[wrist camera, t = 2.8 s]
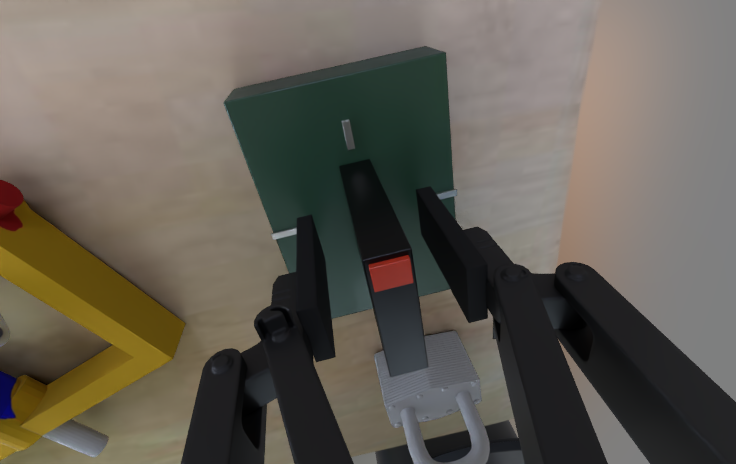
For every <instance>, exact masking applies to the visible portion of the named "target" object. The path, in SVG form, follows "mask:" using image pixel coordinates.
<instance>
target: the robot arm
mask: <svg viewBox="0 0 736 464" xmlns="http://www.w3.org/2000/svg"><path fill="white" fill-rule="evenodd" d="M416 196H417V204H418V213H419V221H420V229H421V235H422V237H423V239H424V241H425V243H426V244H427V246H428V248H429V250H430V252H431V254H432V256H433V257H434V259H435V261H436V263H437V265H438V267H439V269H440V270H441V272H442V274H443V276H444V278H445V280H446V282H447V283H448V285H449V287H450V289H451V291H452V293H453V295H454V296H455V298H456V300H457V302H458V304H459V306H460V308H461V309H462V311H463V313H464V315H465V317H466V319H467V320H468V322H469V323H471V322H475V321H479V320H483V319H487V318H488V309H489V311H490V312H491V314H492V316H493V339H496V340H497V345H498V349H499V353H500V358H501V362H502V367H503V371H504V375H505V380H506V384H507V388H508V393H509V397H510V402H511V406H512V410H513V415H514V419H515V423H516V428H517V432H518V437H519V441H520V445H521V450H522V454H523V458H524V463H525V464H608V463H607V461H606V458H605V456H604V453H603V451H602V448H601V446H600V443H599V441H598V438H597V436H596V433H595V431H594V428H593V426H592V423H591V421H590V418H589V416H588V413H587V411H586V408H585V406H584V403H583V401H582V398H581V396H580V393H579V391H578V388H577V386H576V384H575V381H574V378H573V376H572V373H571V371H570V368H569V366H568V364H567V361H566V358H565V356H564V353H563V351H562V348H561V346H560V343H559V341H560V342H561V343H562V345H563V346H564V348H565V349H566V350H567V352H568V353H569V354H570V356H571V357H572V358H573V360H574V361H575V362H576V364H577V365H578V367H579V368H580V369H581V371H582V372H583V373H584V375H585V376H586V377H587V379H588V380H589V381H590V383H591V384H592V385H593V387H594V388H595V390H596V391H597V392H598V394H599V395H600V396H601V398H602V399H603V400H604V402H605V403H606V404H607V406H608V407H609V409H610V410H611V411H612V412H613V414H614V415H615V417H616V418H617V419H618V421H619V422H620V423H621V424H622V426H623V428H624V429H625V430H626V432H627V433H628V434H629V436H630V437H631V438H632V440H633V441H634V442H635V444H636V445H637V446H638V448H639V449H640V450H641V452H642V453H643V455H644V456H645V457H646V459H647V460H648V461H649V463H650V464H736V402H735V401H734V400H733V399H732V398H731V397H730V396H729V395H727V393H725V392H724V391H723V390H722V389H721V388H720V387H719V386H718V385H717V384H716V383H715V382H714V381H713V380H711V378H709V377H708V376H707V375H706V374H705V373H704V372H703V371H702V370H701V369H700V368H699V367H698V366H696V364H695V363H693V362H692V361H691V360H690V359H689V358H688V357H687V356H686V355H685V354H684V353H683V352H682V351H681V350H680V349H678V348H677V347H676V346H675V345H674V344H673V343H672V342H671V341H670V340H669V339H668V338H667V337H666V336H665V335H664V334H663V333H661V332H660V331H659V330H658V329H657V328H656V327H655V326H654V325H653V324H652V323H651V322H650V321H649V320H648V319H646V318H645V317H644V316H643V315H642V314H641V313H640V312H639V311H638V310H637V309H636V308H635V307H634V306H633V305H632V304H631V303H629V302H628V301H627V300H626V299H625V298H624V297H623V296H622V295H621V294H620V293H619V292H618V291H617V290H616V289H614V288H613V287H612V286H611V285H610V284H609V283H608V282H607V281H606V280H605V279H604V278H603V277H602V276H601V275H599V274H598V273H597V272H596V271H595V270H594V269H593V268H591V267H590V266H588V265H585V264H582V263H577V262H569V263H563V264H561V265H559V266H558V267H557V268H556V272H555V274H533V273H531V272H530V271H529V270H528V269H527V268H525V267H524V266H521V265H517V264H514V263H513V262H512V261H511V260H510V259H509V257H508V256H507V255H506V254H505V253H504V252H503V250H502V249H501V248H500V247H499V246H498V245H497V243H496V242H495V241H494V240H493V239H492V237H491V236H490V235H489V234H488V232H487V231H485V230H483V229H481V228H479V227H474V228H469V229H465V230H462V228H461V227H460V226H459V224H458V223H457V222H456V220H455V219H454V218H453V216H452V215H451V213H450V212H449V211H448V209H447V208H446V207H445V205H444V204H443V203H442V201H441V200H440V198H439V197H438V196H437V194H436V193H435V192H434V190H433V189H432V188H431V186H429V187H424V188H420V189H416ZM254 327H255V329H256V331H257V333H258V335H259V337H260V339H261V341H260V342H259V343H258V344H257V345H255V346H253V347H252V348H250V349H248V350H246V351H244V352H242V353H240V352H239V351H238V350H236V349H232V348H231V349H224V350H222V351H219V352H217V353H216V354H215V355H213V356H212V357H211V358H210V359H209V360H208V361H207V362H206V363H205V366H204V368H203V371H202V375H201V379H200V384H199V388H198V392H197V397H196V401H195V405H194V409H193V414H192V418H191V422H190V427H189V431H188V435H187V440H186V444H185V448H184V453H183V457H182V461H181V464H264V455H265V434H266V413H267V403H269V402H271V401H272V400H274V399H276V398H277V400H278V403H279V407H280V411H281V415H282V418H283V422H284V426H285V430H286V433H287V437H288V441H289V445H290V448H291V452H292V456H293V460H294V463H295V464H354V463H353V461H352V458H351V456H350V453H349V451H348V448H347V446H346V443H345V441H344V438H343V436H342V433H341V431H340V429H339V426H338V424H337V421H336V419H335V416H334V414H333V411H332V409H331V406H330V404H329V401H328V399H327V396H326V394H325V391H324V389H323V386H322V384H321V381H320V379H319V377H318V374H317V372H316V369H315V367H314V364H313V356H314V358H315V360H316V362H318V361H322V360H326V359H330V358H334V357H335V347H334V338H333V328H332V319H331V309H330V300H329V290H328V281H327V271H326V262H325V256H324V253H323V249H322V246H321V243H320V240H319V236H318V233H317V230H316V227H315V223H314V220H313V217H312V214H311V215H307V216H303V217H299V218H297V235H296V272H293V273H289V274H285V275H281V276H278V278H277V279H276V281H275V282H274V284H273V291H272V302H271V306H268V307H267V308H265V309H263V310H262V311H261V312H260V313H259V314H258V315H257V316H256V318H255V320H254ZM558 339H559V341H558Z"/></svg>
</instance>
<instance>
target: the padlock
mask: <svg viewBox="0 0 736 464" xmlns="http://www.w3.org/2000/svg"><path fill="white" fill-rule="evenodd" d="M424 338H425V345H426V352H427V359H428V368H425V369H421V370H418V371H414V372H410V373H406V374H402V375H398V376H394V377H390V375H389V371H388V367H387V363H386V359H385V355H384V351H381V352H378V353H376V354H375V355H374V359H375V363H376V368H377V372H378V377H379V381H380V386H381V391H382V396H383V399H384V404H385V408H386V411H387V414H388V416H389V419H390V422H391V425H392V426H393V427H400V426H403V428H404V432H405V436H406V440H407V444H408V448H409V452H410V454H411V457H412V460H413V462H414V464H486V462H487V461H488V456H489V452H490V446H489V439H488V436H487V432H486V429H485V427H484V425H483V422H482V420H481V418H480V416H479V413H478V411H477V409H476V407H475V404H478V403H479V402H481V401H482V399H481V389H480V380H479V377H478V375H477V373H476V370H475V368H474V367H473V365H472V363H471V360H470V358H469V356H468V354H467V352H466V350H465V348H464V346H463V344H462V342H461V340H460V338H459V336H458V334H457V332H456V331H450V332H445V333H439V334H434V335H428V336H424ZM459 410H460V411H461V413H462V416H463V418H464V421H465V423H466V426H467V428H468V431H469V433H470V438H471V443H472V449H471V450H470V452H469V453H468V454H467V455H466V456H465V457H463V458H461V459H459V460H456V461H452V462H448V463H442V462H437V461H435V460H433V459H432V458H431V457H430V455H429V453H428V451H427V449H426V447H425V444H424V441H423V437H422V434H421V430H420V427H419V422H426V421H429V420H434V419H439V418H441V417H444V416H446V415H450V414H452V413H454V412H457V411H459Z"/></svg>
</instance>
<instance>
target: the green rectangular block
mask: <svg viewBox="0 0 736 464" xmlns="http://www.w3.org/2000/svg"><path fill="white" fill-rule="evenodd" d="M224 106H225V108H226V111H227V113H228V116H229V119H230V121H231V124H232V126H233V129H234V132H235V134H236V137H237V139H238V142H239V145H240V147H241V150H242V152H243V155H244V157H245V160H246V163H247V165H248V168H249V170H250V173H251V176H252V178H253V181H254V183H255V186H256V189H257V191H258V194H259V196H260V199H261V201H262V204H263V207H264V209H265V212H266V214H267V217H268V220H269V222H270V225H271V227H272V230H273V233H271V235H272V238H273V240H274V239H276V240H277V243H278V245H279V248H280V251H281V253H282V256H283V258H284V261H285V264H286V266H287V269H288V271H289V273H293V272H296V235H297V218H299V217H303V216H307V215H311V214H312V217H313V220H314V223H315V227H316V230H317V233H318V236H319V240H320V243H321V246H322V249H323V253H324V256H325V262H326V271H327V281H328V290H329V300H330V309H331V319H333V318H337V317H341V316H345V315H349V314H353V313H357V312H361V311H365V310H368V309H372V308H373V306H372V302H371V298H370V294H369V290H368V286H367V282H366V278H365V274H364V270H363V266H362V262H361V257H360V253H359V249H358V245H357V241H356V237H355V233H354V228H353V224H352V220H351V216H350V212H349V208H348V203H347V199H346V195H345V191H344V187H343V183H342V178H341V174H340V170H339V166H342V165H346V164H350V163H355V162H359V161H363V160H367V159H370V160H371V162H372V165H373V167H374V169H375V171H376V173H377V175H378V177H379V179H380V182H381V184H382V186H383V188H384V190H385V192H386V194H387V197H388V199H389V201H390V203H391V205H392V207H393V209H394V211H395V214H396V216H397V218H398V220H399V222H400V224H401V226H402V229H403V231H404V233H405V235H406V237H407V239H408V241H409V243H410V246H411V248H412V253H413V260H414V267H415V274H416V281H417V288H418V295H419V297H420V296H424V295H428V294H432V293H436V292H440V291H444V290H448V289H450V287H449V285H448V283H447V282H446V280H445V278H444V276H443V274H442V272H441V270H440V269H439V267H438V265H437V263H436V261H435V259H434V257H433V256H432V254H431V252H430V250H429V248H428V246H427V244H426V243H425V241H424V239H423V237H422V235H421V229H420V221H419V213H418V204H417V196H416V189H420V188H424V187H429V186H431V188H432V189H433V190H434V192H435V193H436V194H437V196H438V197H439V198H440V200H441V201H442V203H443V204H444V205H445V207H446V208H447V209H448V211H449V212H450V213H451V215H452V216H453V218H454V219H455V203H454V196H457V189H454V186H453V168H452V151H451V134H450V116H449V99H448V81H447V64H446V53H445V52H443V51H439V50H436V49H433V48H430V47H426V46H424V47H420V48H415V49H411V50H406V51H402V52H397V53H393V54H388V55H384V56H379V57H375V58H370V59H366V60H362V61H357V62H353V63H348V64H344V65H339V66H335V67H330V68H326V69H321V70H317V71H312V72H308V73H303V74H299V75H294V76H290V77H285V78H281V79H276V80H272V81H268V82H263V83H259V84H254V85H250V86H245V87H241V88H236V89H234V90H233V91H232V92H231V93H230V95H229V96H228V97H227V99H226V100H225V101H224Z"/></svg>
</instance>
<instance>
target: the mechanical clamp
mask: <svg viewBox="0 0 736 464" xmlns="http://www.w3.org/2000/svg"><path fill="white" fill-rule="evenodd" d="M0 276H2V277H4V278H5V279H7V280H8V281H10V282H12V283H13V284H15V285H17V286H18V287H20V288H21V289H23V290H25V291H26V292H28V293H30V294H31V295H33V296H34V297H36V298H38V299H39V300H41V301H43V302H44V303H46V304H47V305H49V306H51V307H52V308H54V309H56V310H57V311H59V312H61V313H62V314H64V315H65V316H67V317H69V318H70V319H72V320H74V321H75V322H77V323H78V324H80V325H82V326H83V327H85V328H87V329H88V330H90V331H91V332H93V333H95V334H96V335H98V336H100V337H101V338H103V339H104V340H106V341H108V342H109V343H111V344H113V345H112V346H110V347H109V348H107V349H105V350H104V351H102V352H101V353H99V354H97V355H96V356H94V357H92V358H91V359H89V360H87V361H86V362H84V363H83V364H81V365H79V366H78V367H76V368H74V369H73V370H71V371H70V372H68V373H66V374H65V375H63V376H61V377H60V378H58V379H57V380H55V381H53V382H52V383H50V384H48V385H45V384H43V383H41V382H39V381H37V380H35V379H33V378H31V377H28V376H26V375H22V376H20V377H18V378H15V377H13V376H11V375H8V374H6V373H4V372H2V371H0V460H2V459H4V458H5V457H7V456H9V455H10V454H12V453H14V452H16V451H17V450H18V451H23V450H25V449H27V448H28V447H30V446H31V445H33V444H34V443H35V442H36V441H37V440H38V439H39V438H40V437H42V436H43V437H45V438H47V439H50V440H52V441H55V442H57V443H59V444H62V445H64V446H67V447H69V448H71V449H74V450H76V451H79V452H81V453H83V454H86V455H88V456H91V457H96V456H97V455H98V454H99V453H100V452H101V451H102V450H103V449H104V448H105V446H106V444H107V442H108V439H109V437H108V436H107V435H105V434H102V433H100V432H98V431H96V430H94V429H91V428H89V427H87V426H85V425H83V424H81V423H78V422H76V421H74V420H72V418H73V417H75V416H77V415H79V414H80V413H82V412H84V411H85V410H87V409H89V408H90V407H92V406H94V405H96V404H97V403H99V402H101V401H102V400H104V399H106V398H108V397H109V396H111V395H113V394H114V393H116V392H118V391H119V390H121V389H123V388H125V387H126V386H128V385H130V384H131V383H133V382H135V381H136V380H138V379H140V378H142V377H143V376H145V375H147V374H148V373H150V372H152V371H154V370H155V369H157V368H159V367H160V366H162V365H164V364H165V363H167V362H169V361H171V360H172V359H173V357H174V355H175V352H176V349H177V346H178V343H179V341H180V338H181V335H182V332H183V329H184V327H185V324H186V323H184V322H183V321H181V320H180V319H179V318H177V317H176V316H175V315H173V314H172V313H171V312H169V311H168V310H167V309H165V308H164V307H163V306H161V305H160V304H158V303H157V302H156V301H154V300H153V299H152V298H150V297H149V296H148V295H146V294H145V293H144V292H142V291H141V290H139V289H138V288H137V287H135V286H134V285H133V284H131V283H130V282H129V281H127V280H126V279H125V278H123V277H122V276H121V275H119V274H118V273H116V272H115V271H114V270H112V269H111V268H110V267H108V266H107V265H106V264H104V263H103V262H102V261H100V260H99V259H97V258H96V257H95V256H93V255H92V254H91V253H89V252H88V251H87V250H85V249H84V248H83V247H81V246H80V245H78V244H77V243H76V242H74V241H73V240H72V239H70V238H69V237H68V236H66V235H65V234H64V233H62V232H61V231H60V230H58V229H57V228H55V227H54V226H53V225H51V224H50V223H49V222H47V221H46V220H45V219H43V218H42V217H41V216H39V215H38V214H36V213H35V212H34V211H32V210H31V209H30V208H29V206H28V204H27V203H26V202H25V201H24V198H23V195H22V193H21V192H20V190H19V189H18V188H17V187H15V186H14V185H12V184H10V183H8V182H6V181H3V180H0ZM9 338H10V331H9V328H8V327H7V325H6V323H5V321H4V319H3V317H2V316H1V314H0V347H1V346H3V345H4V344H5V343H7V341H8V340H9Z"/></svg>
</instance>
